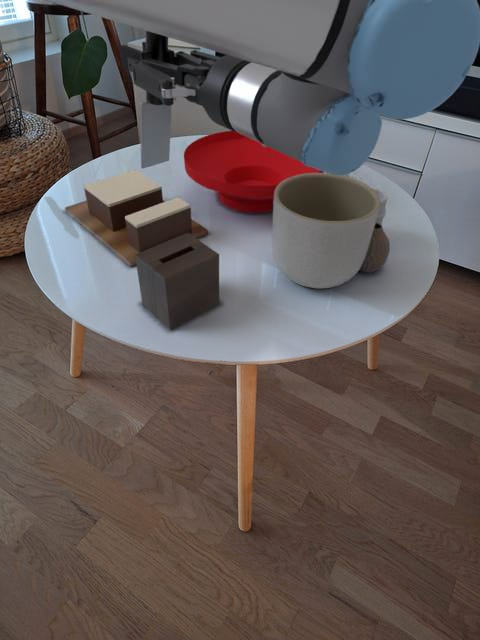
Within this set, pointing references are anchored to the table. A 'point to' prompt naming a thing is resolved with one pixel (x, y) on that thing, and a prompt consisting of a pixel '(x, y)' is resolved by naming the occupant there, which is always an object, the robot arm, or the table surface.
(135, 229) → the cake slice
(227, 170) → the bowl
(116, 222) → the cake
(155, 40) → the knife
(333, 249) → the planter
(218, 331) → the table surface
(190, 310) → the knife block
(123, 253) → the cake board
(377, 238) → the vase
